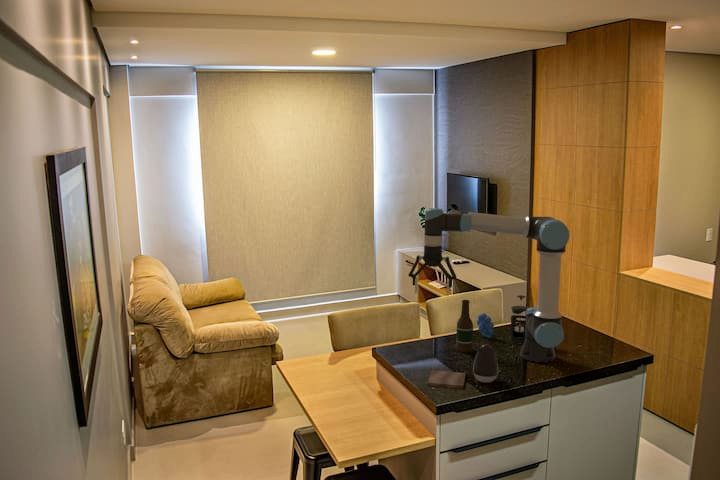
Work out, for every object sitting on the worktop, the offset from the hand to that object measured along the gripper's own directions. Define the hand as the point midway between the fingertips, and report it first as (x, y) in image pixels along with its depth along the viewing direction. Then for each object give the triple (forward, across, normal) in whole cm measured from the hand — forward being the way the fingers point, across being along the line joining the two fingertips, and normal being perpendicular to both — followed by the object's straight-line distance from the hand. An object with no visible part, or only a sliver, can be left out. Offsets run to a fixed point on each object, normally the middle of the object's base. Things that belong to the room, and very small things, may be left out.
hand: (431, 293), depth 260 cm
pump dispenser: (+32, -24, +12) cm, 42 cm away
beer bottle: (+32, -13, -24) cm, 42 cm away
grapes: (+32, -21, -46) cm, 60 cm away
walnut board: (+32, -9, +16) cm, 37 cm away
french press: (+32, -38, -44) cm, 66 cm away
